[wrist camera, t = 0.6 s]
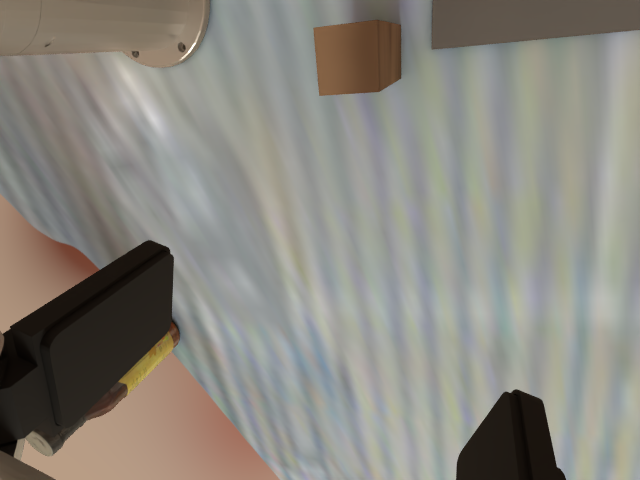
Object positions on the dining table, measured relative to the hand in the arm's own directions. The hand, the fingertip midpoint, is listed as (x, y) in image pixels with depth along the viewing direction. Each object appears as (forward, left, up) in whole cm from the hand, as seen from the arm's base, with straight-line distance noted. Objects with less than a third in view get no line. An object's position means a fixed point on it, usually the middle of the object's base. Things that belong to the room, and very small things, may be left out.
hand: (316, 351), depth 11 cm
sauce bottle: (-37, -27, -29) cm, 54 cm away
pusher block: (-4, +7, -29) cm, 30 cm away
